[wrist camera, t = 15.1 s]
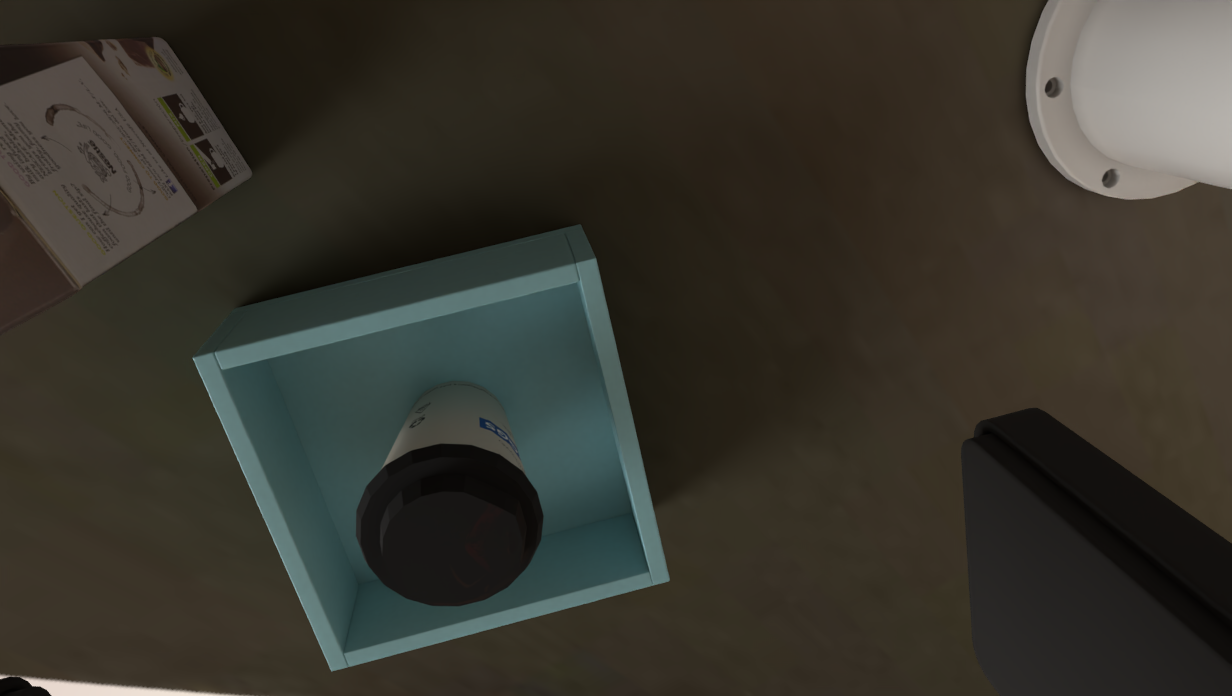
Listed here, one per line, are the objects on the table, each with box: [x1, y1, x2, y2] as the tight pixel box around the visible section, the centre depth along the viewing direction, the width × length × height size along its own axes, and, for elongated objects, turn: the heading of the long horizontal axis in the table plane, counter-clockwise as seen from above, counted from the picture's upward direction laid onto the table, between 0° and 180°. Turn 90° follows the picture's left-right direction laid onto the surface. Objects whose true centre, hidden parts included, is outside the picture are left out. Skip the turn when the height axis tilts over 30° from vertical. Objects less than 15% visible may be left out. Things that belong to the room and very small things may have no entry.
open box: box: [193, 224, 670, 671], centre depth 38 cm, size 16×16×6 cm
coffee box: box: [0, 37, 252, 335], centre depth 27 cm, size 9×6×16 cm
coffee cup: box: [356, 381, 544, 606], centre depth 35 cm, size 7×7×10 cm
